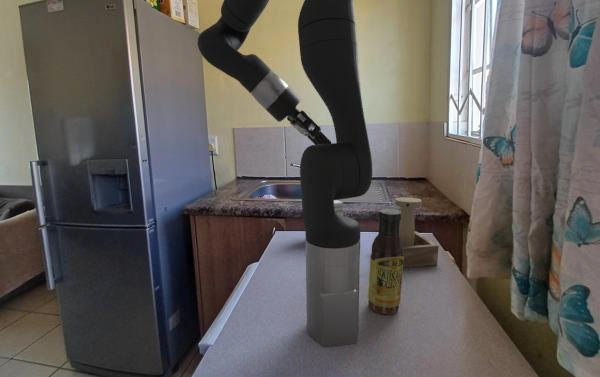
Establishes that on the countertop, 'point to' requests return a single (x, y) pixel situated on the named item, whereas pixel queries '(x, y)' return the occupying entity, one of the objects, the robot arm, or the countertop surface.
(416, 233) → the open wooden box
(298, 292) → the countertop surface
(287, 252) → the countertop surface
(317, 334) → the robot arm
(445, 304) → the countertop surface
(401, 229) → the handle
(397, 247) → the sauce bottle
